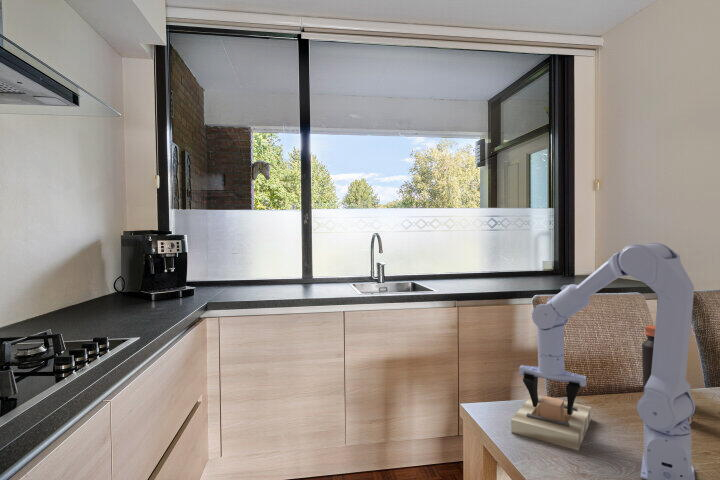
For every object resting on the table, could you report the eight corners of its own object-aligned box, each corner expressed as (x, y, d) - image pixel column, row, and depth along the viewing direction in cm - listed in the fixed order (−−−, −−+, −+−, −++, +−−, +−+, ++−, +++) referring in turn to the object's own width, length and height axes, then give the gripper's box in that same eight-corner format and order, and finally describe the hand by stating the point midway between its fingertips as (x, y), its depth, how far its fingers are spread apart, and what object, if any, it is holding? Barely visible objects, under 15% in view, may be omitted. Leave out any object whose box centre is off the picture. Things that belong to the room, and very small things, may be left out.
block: (560, 431, 93) (560, 406, 93) (540, 426, 96) (539, 401, 96) (564, 424, 97) (563, 399, 97) (544, 419, 99) (544, 395, 99)
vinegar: (674, 407, 104) (672, 331, 104) (642, 401, 108) (641, 328, 108) (673, 398, 110) (672, 326, 110) (643, 393, 114) (641, 323, 114)
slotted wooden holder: (578, 450, 85) (578, 434, 85) (511, 432, 93) (511, 417, 93) (591, 418, 99) (591, 404, 99) (532, 405, 107) (531, 392, 107)
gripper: (587, 353, 95) (589, 410, 95) (524, 345, 104) (525, 397, 104) (582, 361, 89) (584, 421, 89) (516, 351, 98) (517, 406, 98)
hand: (552, 409), depth 96 cm, fingers open, 7 cm apart
